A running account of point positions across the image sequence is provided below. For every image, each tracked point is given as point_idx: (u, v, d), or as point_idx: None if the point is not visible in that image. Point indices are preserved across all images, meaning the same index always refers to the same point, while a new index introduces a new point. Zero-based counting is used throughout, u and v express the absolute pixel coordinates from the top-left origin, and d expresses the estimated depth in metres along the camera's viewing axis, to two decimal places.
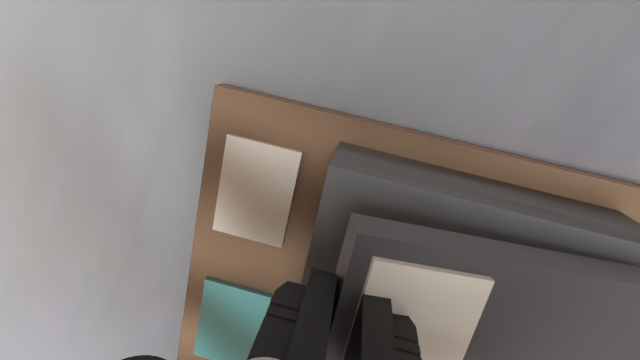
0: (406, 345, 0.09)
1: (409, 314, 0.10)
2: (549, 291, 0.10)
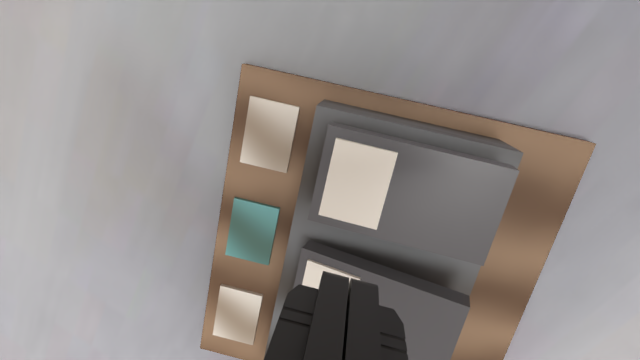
0: (393, 342, 0.09)
1: (354, 169, 0.19)
2: (430, 162, 0.19)
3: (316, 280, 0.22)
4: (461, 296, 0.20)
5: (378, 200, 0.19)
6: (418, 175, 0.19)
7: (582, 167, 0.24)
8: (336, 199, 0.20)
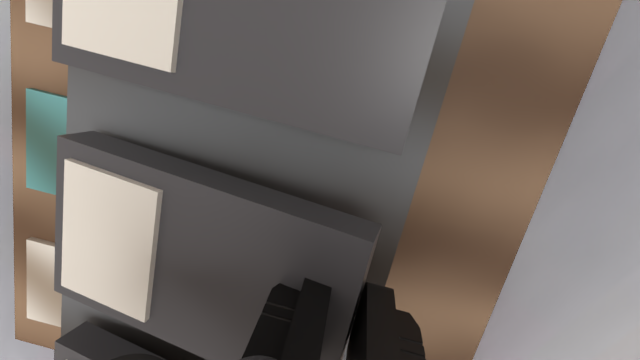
0: (410, 346, 0.09)
1: None
2: None
3: (84, 200, 0.11)
4: (362, 225, 0.10)
5: None
6: None
7: (609, 16, 0.13)
8: (87, 4, 0.09)
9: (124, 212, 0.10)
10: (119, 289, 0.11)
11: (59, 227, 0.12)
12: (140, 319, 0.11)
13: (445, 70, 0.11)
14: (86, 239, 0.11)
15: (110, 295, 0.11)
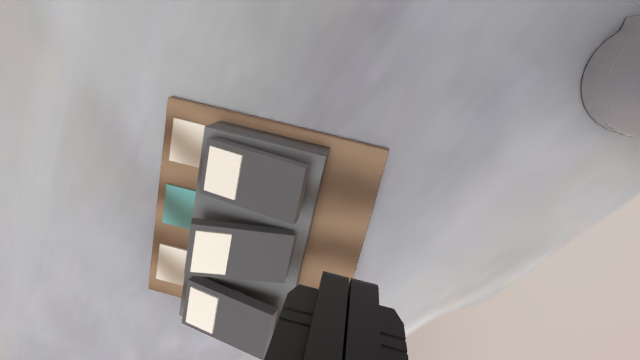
0: (392, 342, 0.09)
1: (220, 164, 0.33)
2: (260, 161, 0.32)
3: (203, 242, 0.34)
4: (289, 231, 0.36)
5: (234, 182, 0.33)
6: (254, 168, 0.33)
7: (382, 166, 0.38)
8: (212, 181, 0.34)
9: (219, 242, 0.34)
10: (215, 266, 0.35)
11: (188, 252, 0.34)
12: (223, 274, 0.35)
13: (315, 193, 0.35)
14: (203, 254, 0.34)
15: (211, 269, 0.35)
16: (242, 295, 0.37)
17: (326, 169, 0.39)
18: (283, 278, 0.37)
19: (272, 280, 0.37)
